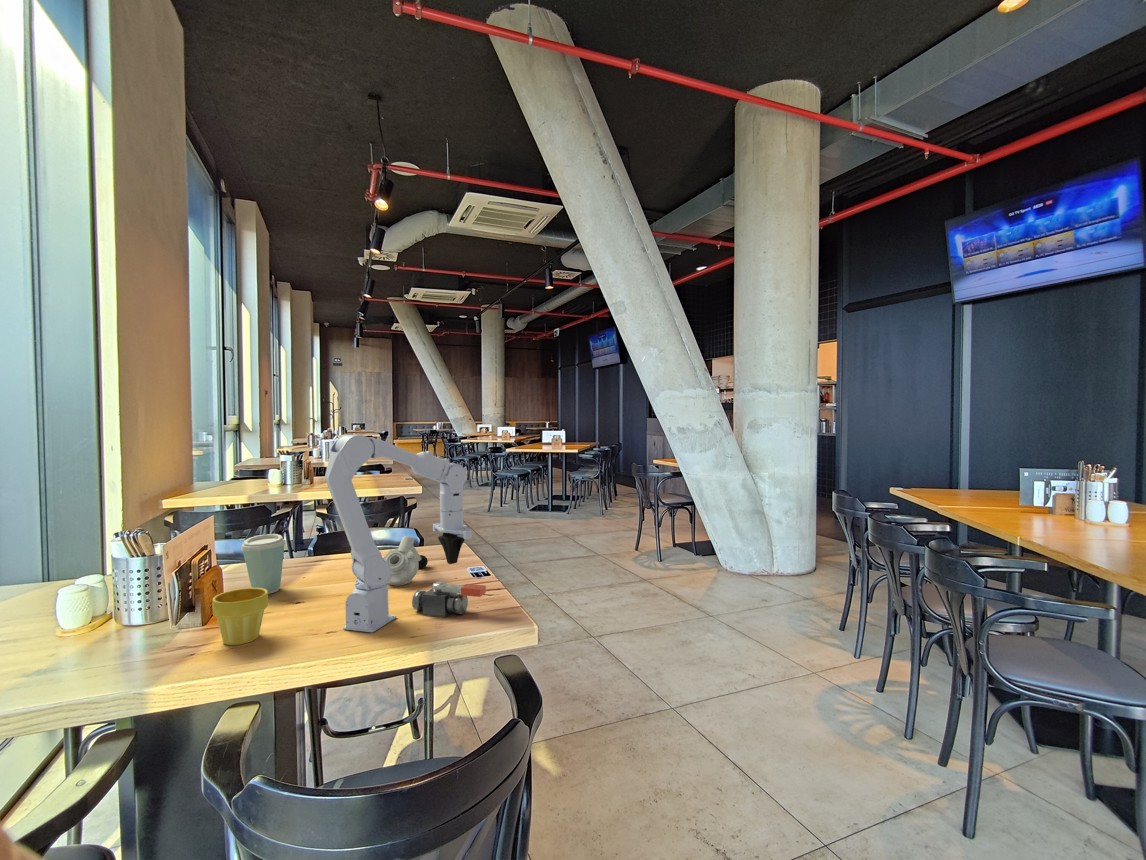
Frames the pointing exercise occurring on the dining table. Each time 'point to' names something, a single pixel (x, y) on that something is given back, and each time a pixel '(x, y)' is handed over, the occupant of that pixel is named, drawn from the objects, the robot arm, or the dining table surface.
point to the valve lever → (460, 589)
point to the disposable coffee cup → (264, 561)
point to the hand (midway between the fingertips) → (452, 563)
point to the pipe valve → (439, 603)
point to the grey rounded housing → (404, 562)
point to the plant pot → (240, 614)
